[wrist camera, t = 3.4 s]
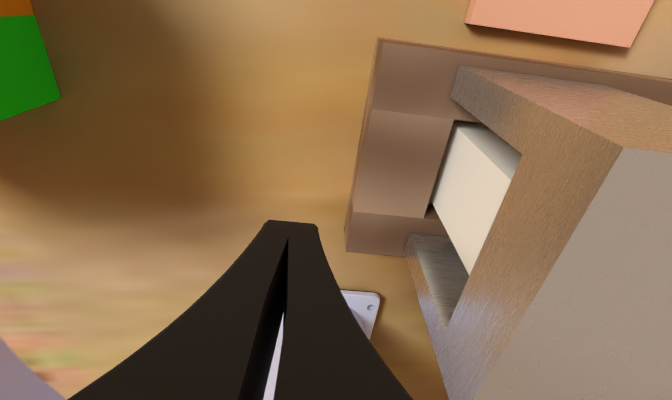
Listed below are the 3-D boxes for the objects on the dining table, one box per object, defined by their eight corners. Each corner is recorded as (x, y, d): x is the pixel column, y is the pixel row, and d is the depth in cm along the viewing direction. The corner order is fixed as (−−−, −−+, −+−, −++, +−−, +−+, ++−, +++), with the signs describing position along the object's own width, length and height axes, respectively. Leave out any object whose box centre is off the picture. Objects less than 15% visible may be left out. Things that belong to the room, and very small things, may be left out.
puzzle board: (663, 259, 21) (693, 282, 19) (344, 229, 19) (345, 251, 18) (793, 96, 16) (848, 108, 14) (377, 37, 14) (384, 42, 13)
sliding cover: (513, 261, 18) (637, 436, 11) (404, 252, 18) (457, 427, 10) (604, 85, 13) (923, 184, 6) (459, 65, 13) (623, 147, 6)
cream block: (500, 202, 18) (587, 304, 12) (428, 195, 18) (479, 295, 12) (532, 131, 16) (654, 210, 10) (450, 121, 16) (527, 196, 10)
